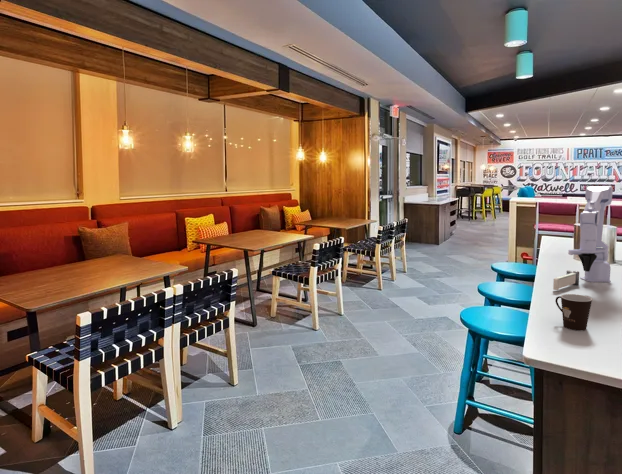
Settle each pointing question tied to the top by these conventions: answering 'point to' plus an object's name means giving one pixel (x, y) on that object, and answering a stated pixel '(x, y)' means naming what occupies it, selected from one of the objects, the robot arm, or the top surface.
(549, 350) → the top surface
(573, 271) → the gate post
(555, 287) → the gate
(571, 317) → the coffee mug
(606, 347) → the top surface
